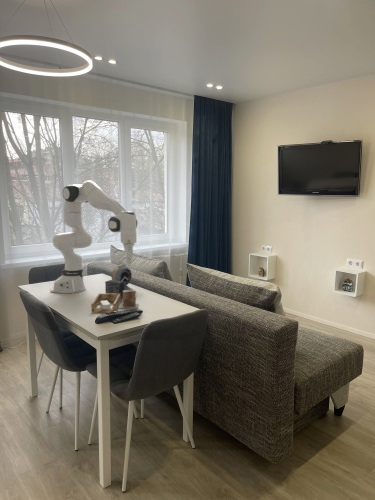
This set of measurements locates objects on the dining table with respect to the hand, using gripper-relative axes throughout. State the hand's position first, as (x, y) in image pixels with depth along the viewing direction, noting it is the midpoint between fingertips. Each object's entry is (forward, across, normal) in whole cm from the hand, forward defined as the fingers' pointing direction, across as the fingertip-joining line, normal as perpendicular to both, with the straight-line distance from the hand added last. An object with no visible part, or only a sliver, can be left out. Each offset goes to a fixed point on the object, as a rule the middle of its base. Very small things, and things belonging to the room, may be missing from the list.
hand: (128, 263), depth 211 cm
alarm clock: (+26, +35, +3) cm, 44 cm away
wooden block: (+25, -2, 0) cm, 25 cm away
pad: (+25, -2, 0) cm, 25 cm away
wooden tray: (+26, 0, +13) cm, 28 cm away
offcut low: (+26, -7, +14) cm, 30 cm away
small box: (+26, +19, +7) cm, 33 cm away
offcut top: (+23, -6, +13) cm, 28 cm away
